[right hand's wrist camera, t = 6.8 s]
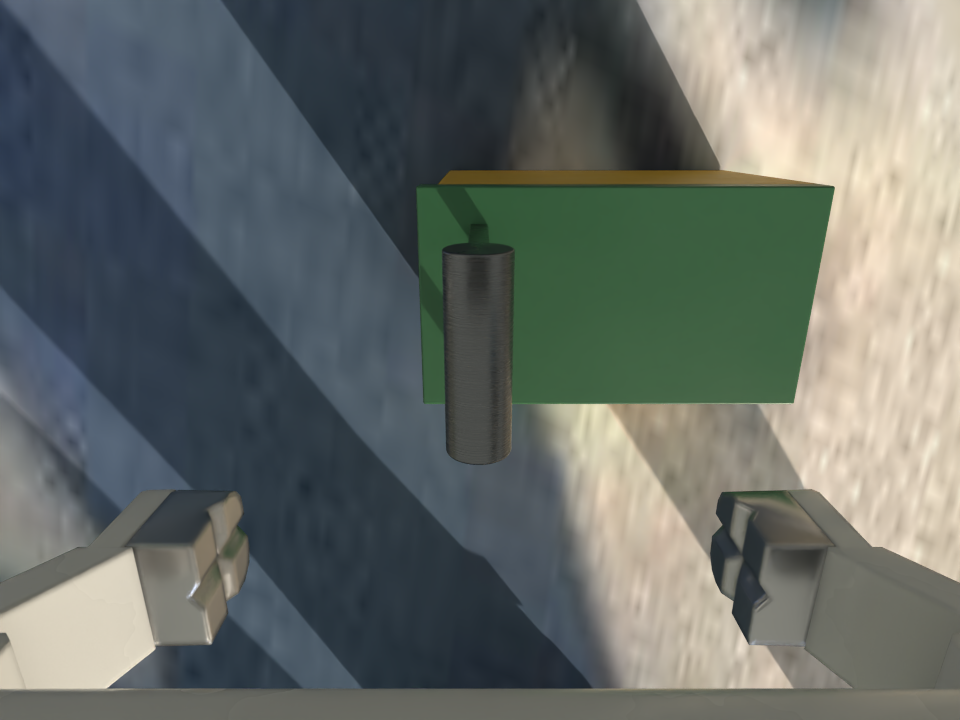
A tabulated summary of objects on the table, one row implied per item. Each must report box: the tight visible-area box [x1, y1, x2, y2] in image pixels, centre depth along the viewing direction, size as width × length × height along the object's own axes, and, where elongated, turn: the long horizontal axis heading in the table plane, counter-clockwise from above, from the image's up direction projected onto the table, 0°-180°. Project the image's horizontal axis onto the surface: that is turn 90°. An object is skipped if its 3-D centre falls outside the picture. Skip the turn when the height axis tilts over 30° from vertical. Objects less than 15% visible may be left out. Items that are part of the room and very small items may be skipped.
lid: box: [416, 184, 835, 465], centre depth 22 cm, size 16×9×8 cm, turn 90°
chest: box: [438, 170, 815, 184], centre depth 30 cm, size 15×9×10 cm, turn 90°
